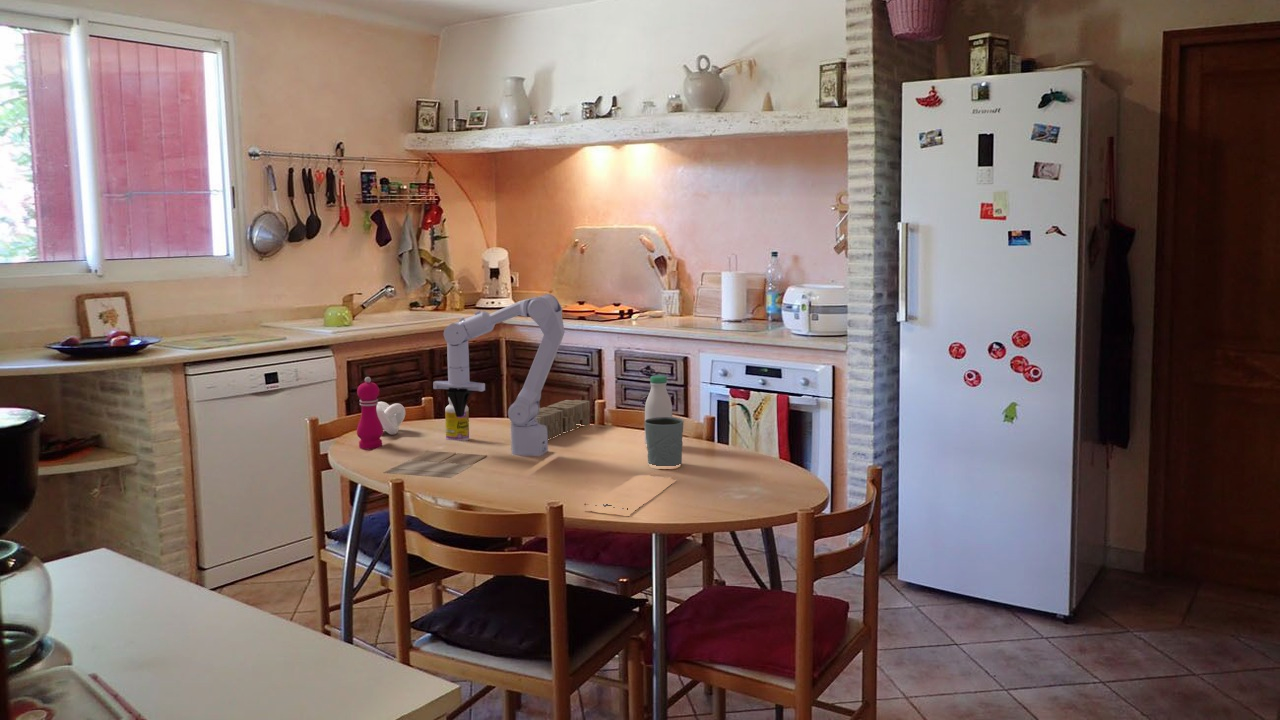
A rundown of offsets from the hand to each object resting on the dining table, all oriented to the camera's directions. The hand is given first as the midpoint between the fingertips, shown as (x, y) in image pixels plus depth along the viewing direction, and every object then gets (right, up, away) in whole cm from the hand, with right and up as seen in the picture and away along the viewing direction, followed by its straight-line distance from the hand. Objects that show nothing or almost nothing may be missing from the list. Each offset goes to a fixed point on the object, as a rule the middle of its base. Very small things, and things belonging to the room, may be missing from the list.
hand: (460, 416), depth 280 cm
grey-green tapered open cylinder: (+55, -12, -13) cm, 58 cm away
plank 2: (+3, -12, -9) cm, 15 cm away
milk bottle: (+54, -9, +8) cm, 56 cm away
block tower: (+24, -7, +27) cm, 37 cm away
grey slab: (-5, -13, -18) cm, 23 cm away
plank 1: (-6, -11, -7) cm, 14 cm away
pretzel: (-28, -7, +27) cm, 39 cm away
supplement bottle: (-4, -8, +17) cm, 19 cm away
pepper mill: (-27, -9, +10) cm, 30 cm away
